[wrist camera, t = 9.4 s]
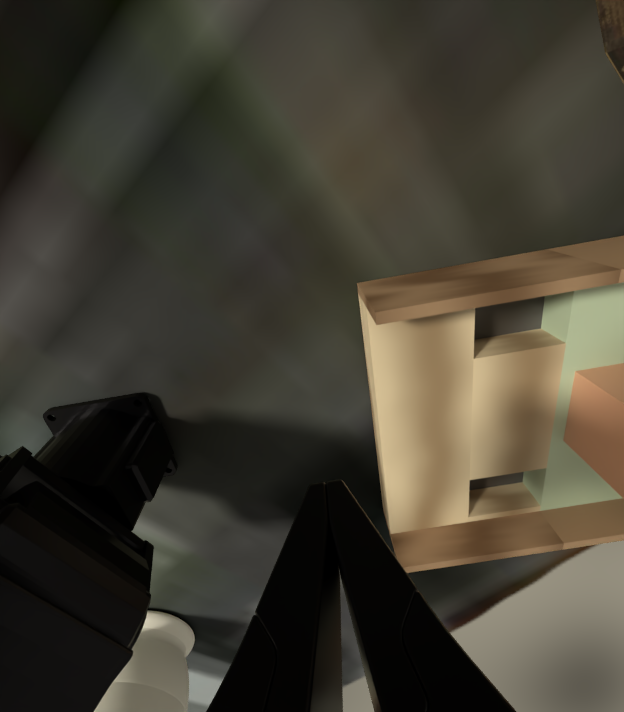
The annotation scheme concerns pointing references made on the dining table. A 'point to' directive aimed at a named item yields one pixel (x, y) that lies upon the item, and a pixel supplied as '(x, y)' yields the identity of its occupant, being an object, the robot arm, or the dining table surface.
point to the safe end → (583, 351)
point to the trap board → (467, 402)
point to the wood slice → (613, 32)
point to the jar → (154, 669)
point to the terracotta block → (599, 422)
